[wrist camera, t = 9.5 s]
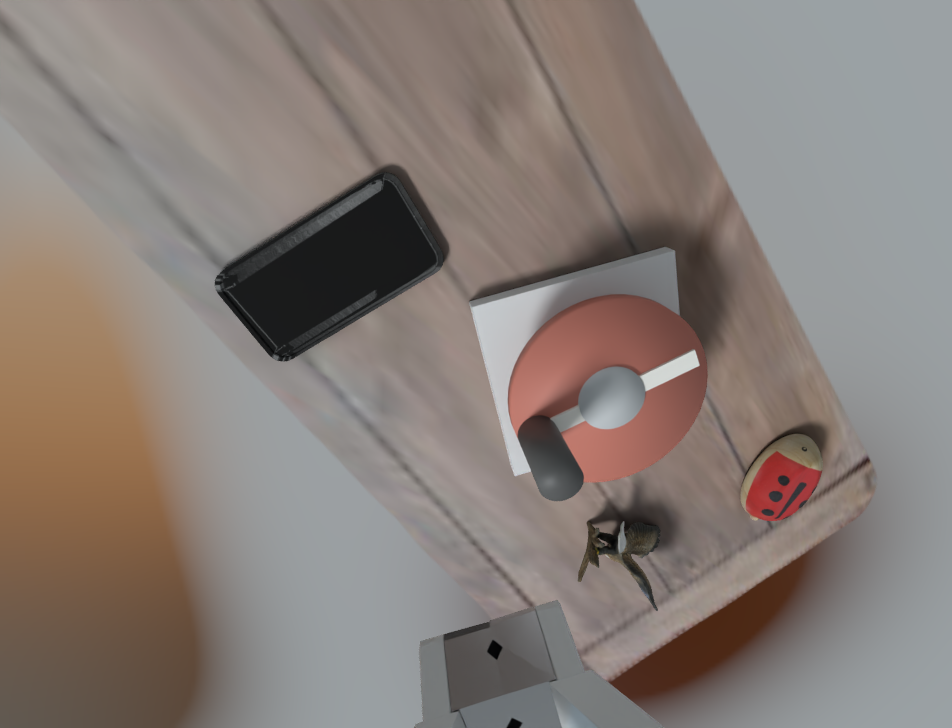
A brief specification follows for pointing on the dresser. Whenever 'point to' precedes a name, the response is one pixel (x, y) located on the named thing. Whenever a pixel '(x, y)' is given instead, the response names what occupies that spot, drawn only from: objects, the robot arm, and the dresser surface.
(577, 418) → the handwheel
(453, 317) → the dresser surface
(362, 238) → the phone
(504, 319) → the square base plate
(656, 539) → the eagle figurine
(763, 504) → the ladybug figurine
